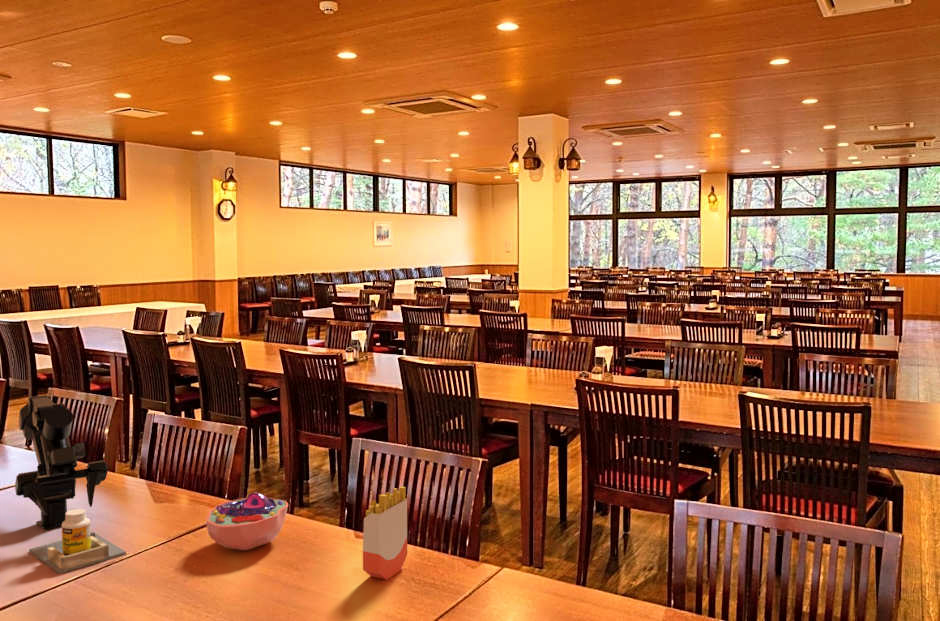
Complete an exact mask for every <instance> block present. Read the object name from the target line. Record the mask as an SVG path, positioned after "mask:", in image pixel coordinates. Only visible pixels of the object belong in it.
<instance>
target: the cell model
mask: <svg viewBox="0 0 940 621" xmlns="http://www.w3.org/2000/svg"><path fill="white" fill-rule="evenodd" d="M288 507H289V503H288V502H287V501H286V500H284V499H281V498H276V497H275V498H273V497H267V496H266V495H264V494H263V493H261V492H257V491H256V492H252V493H249V494H248V495H247V496H246V497H240V498H237V499H233V500H230V501H227V502H226V501H225V502H223V503H219V504H218V505H216V506H215V507H213V508H212V509H211V510H210V511H209V512H208V513H207V517H206V530H207V535H208V536H209V537H210V539H212V541H214V542H215V543H217V544H218V545H220V546H222V547H224V548H225V549H231V550H238V551H248V550H252V549H254V548H256V547H260V546H263V545H266V544H268V543H270V542H273V541H274V540H275V539H276V537H277V536H278V535H279V534H280V532H281V530H282V528H283V526H284V523H285V519H286V515H287V512H288Z"/></svg>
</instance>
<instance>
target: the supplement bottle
mask: <svg viewBox="0 0 940 621" xmlns="http://www.w3.org/2000/svg"><path fill="white" fill-rule="evenodd" d="M86 513H87V512H86V510H85V509H84V508H75V509H71V510H70V509H69V510H67V512H66V513H65V521H64V522H63V523H62V526H61V541H62V546H63V554H64V555H65V556H68V555H71V554H75V553H78V552H82V551H85V550H89V549H91V535H90V533H91V520H90V518H88V517H87V514H86Z"/></svg>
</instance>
